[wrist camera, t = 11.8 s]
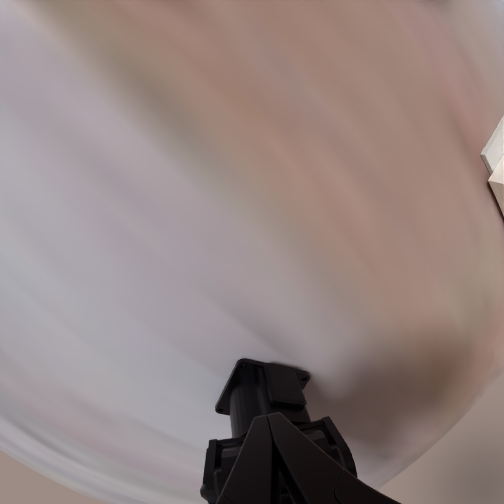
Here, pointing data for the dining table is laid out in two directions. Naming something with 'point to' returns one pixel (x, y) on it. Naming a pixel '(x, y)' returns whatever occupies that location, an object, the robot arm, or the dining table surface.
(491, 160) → the mat
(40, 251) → the dining table surface
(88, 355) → the dining table surface
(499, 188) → the beige rectangular block
